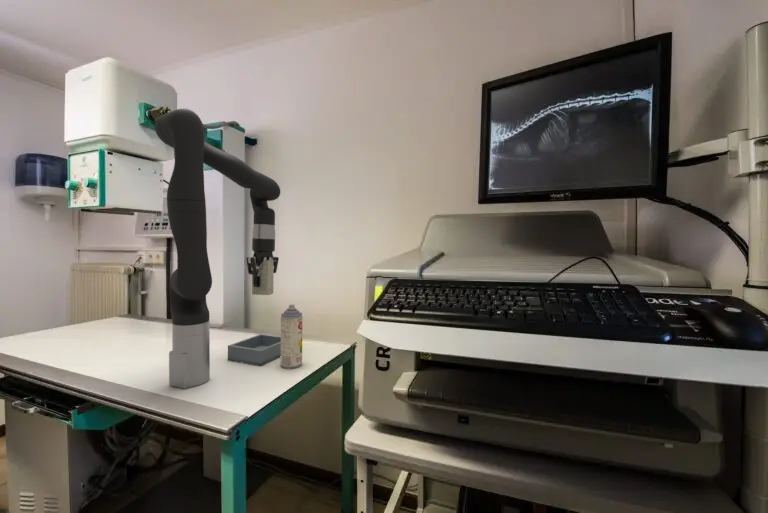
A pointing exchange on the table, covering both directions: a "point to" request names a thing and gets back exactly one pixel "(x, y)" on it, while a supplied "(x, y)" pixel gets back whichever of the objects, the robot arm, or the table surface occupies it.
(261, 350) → the tote
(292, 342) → the aerosol can
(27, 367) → the table surface
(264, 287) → the skincare box
